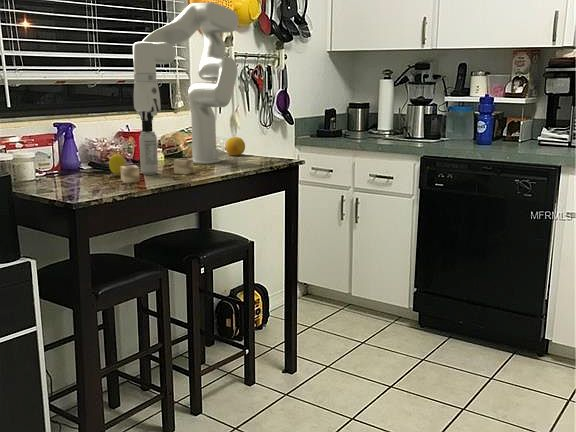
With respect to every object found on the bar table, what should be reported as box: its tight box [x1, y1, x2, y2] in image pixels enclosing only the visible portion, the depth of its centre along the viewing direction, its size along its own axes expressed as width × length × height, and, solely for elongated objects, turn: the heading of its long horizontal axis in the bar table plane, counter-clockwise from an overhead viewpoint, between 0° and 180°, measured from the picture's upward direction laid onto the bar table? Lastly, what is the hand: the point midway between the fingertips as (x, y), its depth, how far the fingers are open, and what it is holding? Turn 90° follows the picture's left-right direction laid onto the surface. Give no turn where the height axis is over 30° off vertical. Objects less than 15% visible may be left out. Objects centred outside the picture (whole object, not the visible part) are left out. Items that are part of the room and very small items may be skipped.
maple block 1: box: [120, 164, 141, 184], centre depth 211 cm, size 5×5×5 cm
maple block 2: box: [173, 157, 194, 175], centre depth 228 cm, size 5×5×5 cm
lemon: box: [108, 152, 126, 176], centre depth 221 cm, size 6×6×8 cm
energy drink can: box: [138, 131, 159, 176], centre depth 224 cm, size 6×6×15 cm
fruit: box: [224, 136, 246, 157], centre depth 270 cm, size 9×8×8 cm
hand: (147, 131), depth 222 cm, fingers closed
